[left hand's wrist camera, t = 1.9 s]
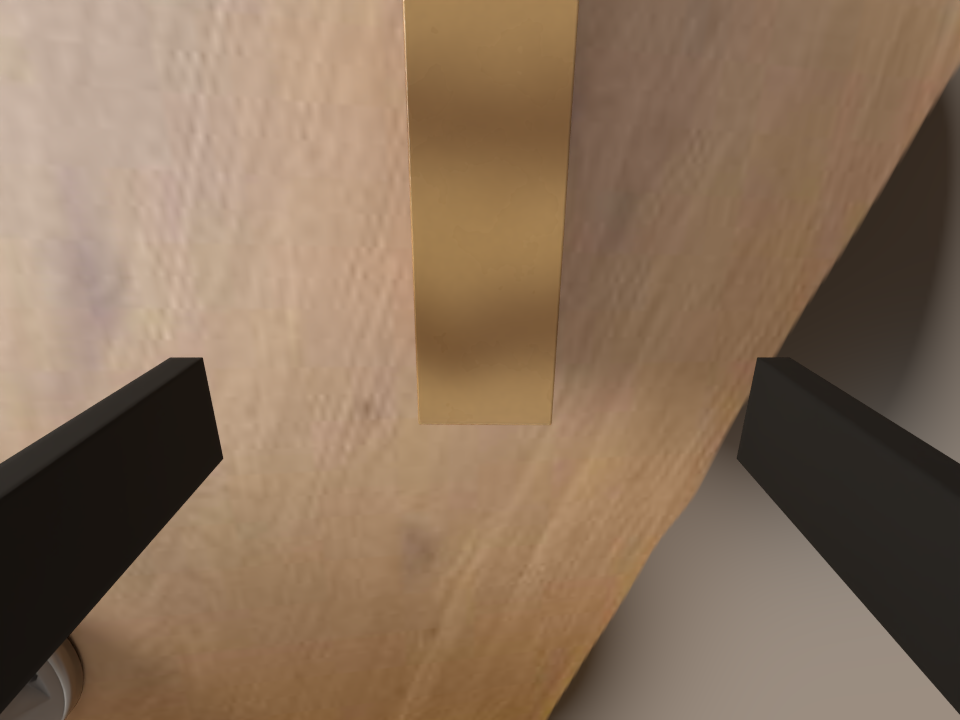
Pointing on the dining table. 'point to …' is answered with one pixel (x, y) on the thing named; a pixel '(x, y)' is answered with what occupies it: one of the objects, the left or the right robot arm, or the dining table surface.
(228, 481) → the dining table surface
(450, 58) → the bar
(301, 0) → the dining table surface
